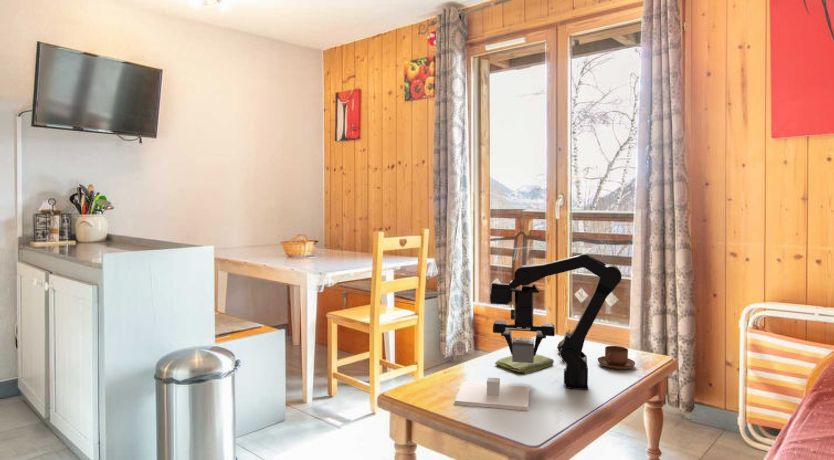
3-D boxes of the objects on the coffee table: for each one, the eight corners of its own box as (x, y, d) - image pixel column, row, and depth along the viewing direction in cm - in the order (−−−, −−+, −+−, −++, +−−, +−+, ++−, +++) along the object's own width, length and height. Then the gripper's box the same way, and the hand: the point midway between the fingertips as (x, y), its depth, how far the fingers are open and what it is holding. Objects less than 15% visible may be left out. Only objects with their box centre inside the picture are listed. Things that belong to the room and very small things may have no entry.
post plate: (529, 390, 161) (529, 373, 161) (527, 410, 146) (528, 392, 145) (462, 384, 166) (462, 368, 165) (454, 404, 150) (454, 386, 150)
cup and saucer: (632, 374, 176) (632, 355, 176) (594, 368, 182) (594, 350, 182) (637, 364, 187) (637, 346, 186) (601, 359, 193) (601, 342, 192)
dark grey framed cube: (533, 357, 172) (534, 338, 171) (533, 363, 165) (533, 343, 165) (513, 355, 173) (513, 337, 173) (512, 361, 167) (512, 342, 166)
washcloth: (493, 366, 185) (493, 357, 185) (527, 357, 196) (527, 348, 195) (522, 376, 175) (522, 367, 174) (556, 366, 185) (557, 357, 185)
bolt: (564, 355, 204) (570, 366, 189) (552, 348, 204) (557, 358, 189) (572, 342, 203) (579, 352, 188) (560, 335, 204) (566, 344, 189)
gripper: (554, 302, 174) (553, 350, 175) (495, 299, 178) (495, 346, 179) (555, 309, 163) (554, 360, 164) (492, 306, 167) (492, 356, 168)
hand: (523, 355), depth 169 cm, fingers closed on dark grey framed cube, 6 cm apart
